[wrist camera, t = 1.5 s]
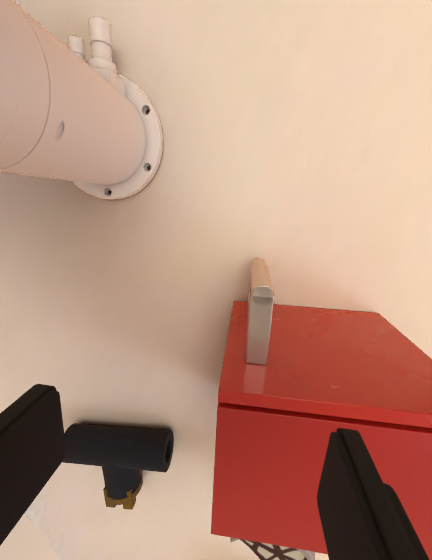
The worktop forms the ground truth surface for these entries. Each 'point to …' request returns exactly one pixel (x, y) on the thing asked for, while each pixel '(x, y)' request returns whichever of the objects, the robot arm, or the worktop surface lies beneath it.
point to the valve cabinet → (306, 473)
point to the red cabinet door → (322, 361)
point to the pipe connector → (119, 456)
